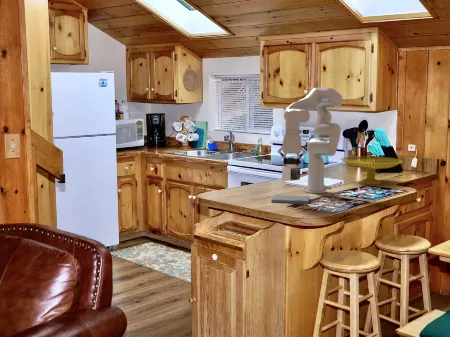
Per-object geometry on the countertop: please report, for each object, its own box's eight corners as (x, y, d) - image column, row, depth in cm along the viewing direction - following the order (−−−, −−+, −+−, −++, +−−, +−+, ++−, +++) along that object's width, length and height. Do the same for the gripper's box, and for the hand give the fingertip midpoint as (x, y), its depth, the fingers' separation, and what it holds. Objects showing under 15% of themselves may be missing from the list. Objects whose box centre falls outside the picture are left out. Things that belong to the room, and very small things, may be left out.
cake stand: (396, 190, 364) (397, 165, 362) (332, 184, 382) (332, 161, 379) (407, 180, 400) (408, 158, 398) (347, 175, 418) (348, 154, 415)
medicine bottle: (290, 181, 323) (291, 159, 321) (281, 179, 329) (282, 157, 327) (300, 179, 327) (300, 158, 326) (291, 178, 333) (292, 156, 331)
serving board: (309, 198, 335) (309, 196, 335) (308, 203, 321) (308, 201, 321) (273, 197, 338) (273, 194, 338) (271, 202, 325) (271, 199, 325)
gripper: (308, 132, 327) (307, 164, 329) (277, 131, 329) (276, 163, 332) (308, 133, 319) (307, 166, 322) (275, 132, 322) (275, 165, 325)
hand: (291, 165), depth 327 cm, fingers closed on medicine bottle, 6 cm apart
